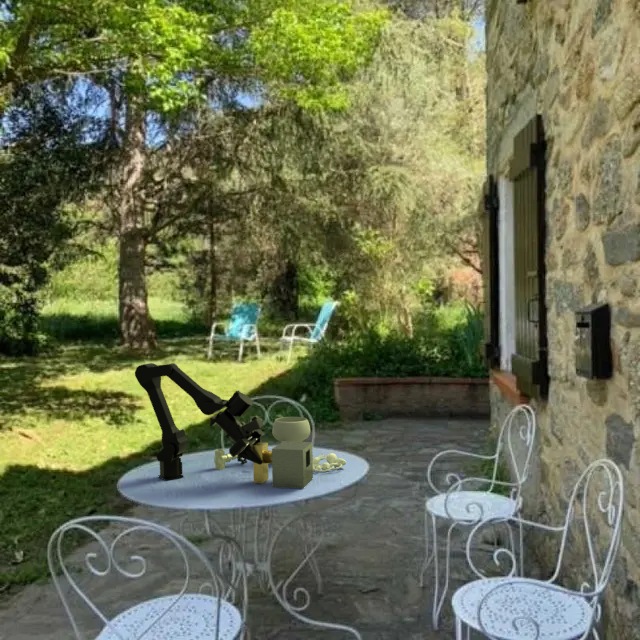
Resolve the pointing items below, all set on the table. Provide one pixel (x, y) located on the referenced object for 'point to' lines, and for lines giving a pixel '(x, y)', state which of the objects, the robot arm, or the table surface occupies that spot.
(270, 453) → the end cover
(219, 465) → the valve
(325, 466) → the tangled rod sculpture
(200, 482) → the table surface
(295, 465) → the housing
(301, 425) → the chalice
